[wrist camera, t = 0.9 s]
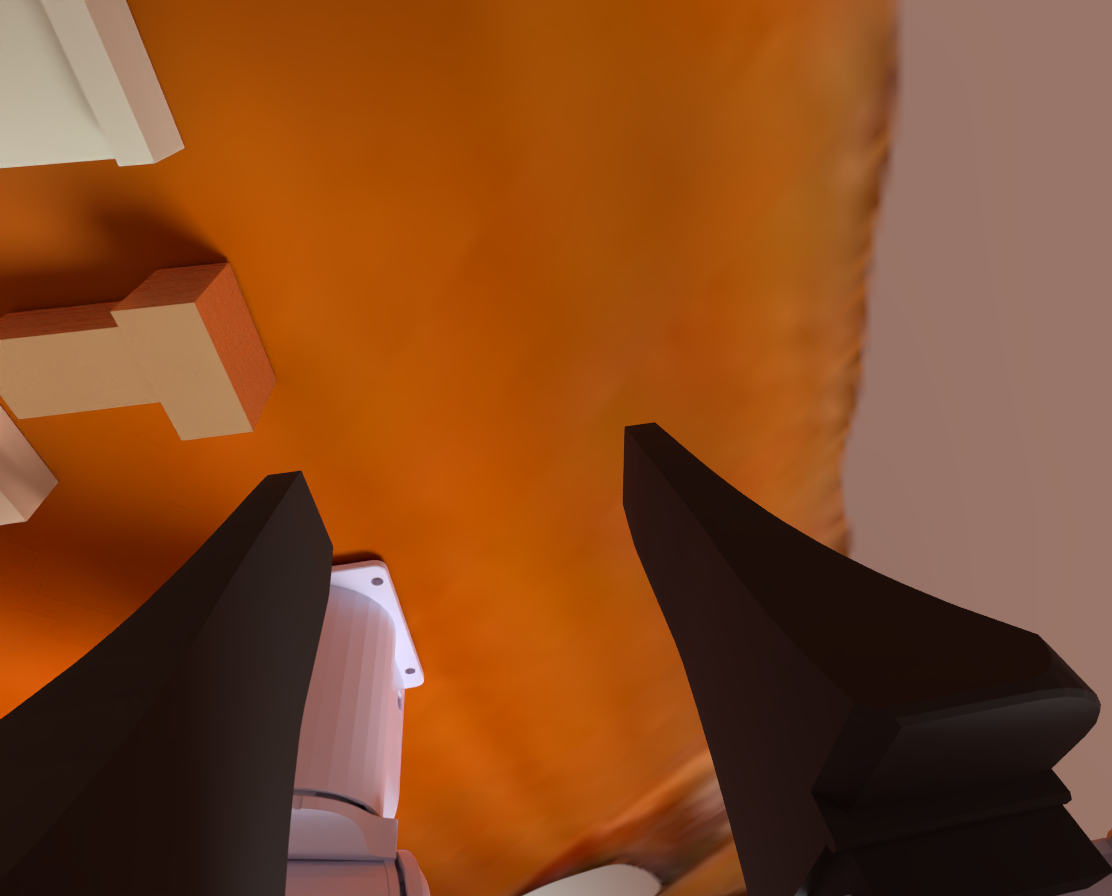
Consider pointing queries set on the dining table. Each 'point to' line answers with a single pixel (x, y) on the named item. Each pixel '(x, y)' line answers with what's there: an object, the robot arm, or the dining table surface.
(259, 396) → the block
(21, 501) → the socket block
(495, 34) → the dining table surface
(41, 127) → the pad
